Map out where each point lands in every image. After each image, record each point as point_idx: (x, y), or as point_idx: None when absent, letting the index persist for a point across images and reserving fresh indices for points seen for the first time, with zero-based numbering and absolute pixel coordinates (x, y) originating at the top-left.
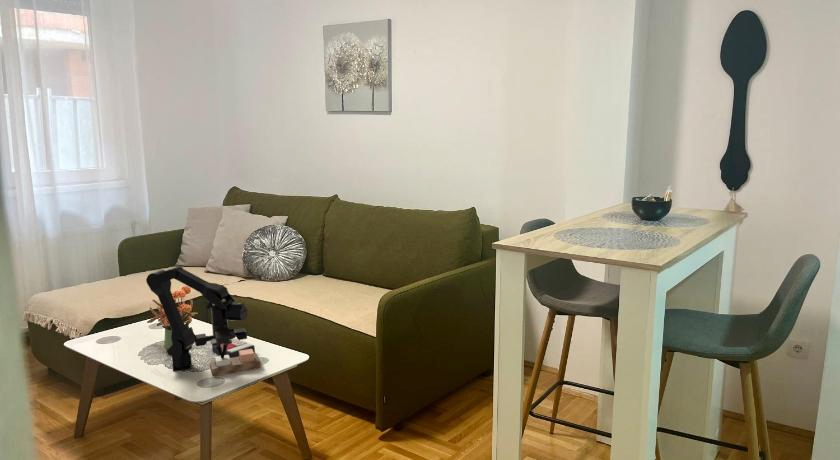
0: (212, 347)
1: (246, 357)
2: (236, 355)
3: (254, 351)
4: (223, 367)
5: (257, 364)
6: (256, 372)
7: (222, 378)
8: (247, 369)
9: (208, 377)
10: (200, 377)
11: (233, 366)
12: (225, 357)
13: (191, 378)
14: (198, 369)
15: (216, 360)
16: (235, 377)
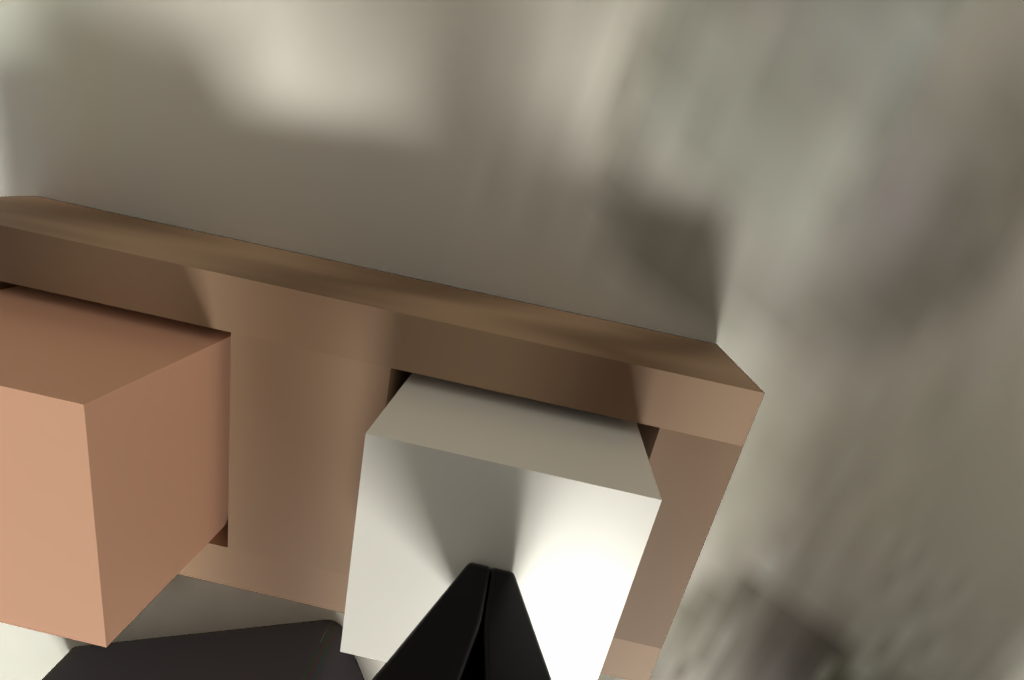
0: None
1: (37, 345)
2: (250, 674)
3: (52, 670)
4: (551, 344)
5: (6, 209)
6: (110, 72)
7: (626, 177)
8: (211, 239)
9: (775, 347)
10: (862, 417)
11: (378, 301)
12: (426, 571)
13: (974, 460)
14: (750, 646)
15: (639, 546)
16: (443, 82)
